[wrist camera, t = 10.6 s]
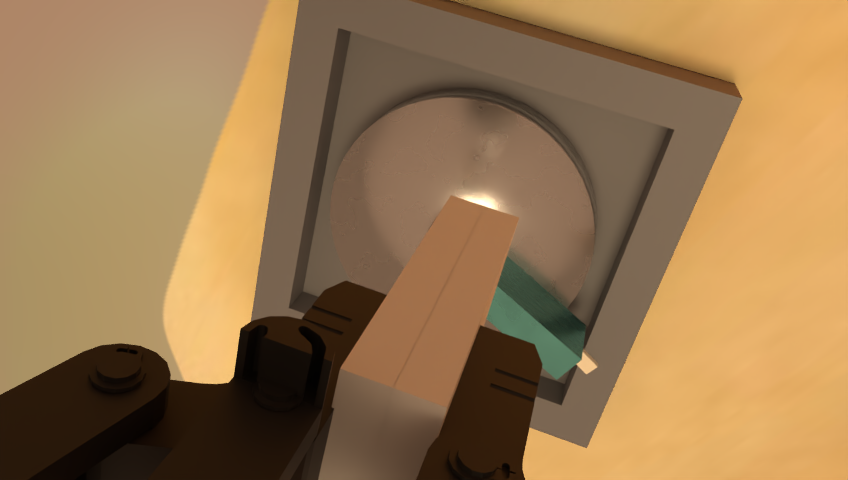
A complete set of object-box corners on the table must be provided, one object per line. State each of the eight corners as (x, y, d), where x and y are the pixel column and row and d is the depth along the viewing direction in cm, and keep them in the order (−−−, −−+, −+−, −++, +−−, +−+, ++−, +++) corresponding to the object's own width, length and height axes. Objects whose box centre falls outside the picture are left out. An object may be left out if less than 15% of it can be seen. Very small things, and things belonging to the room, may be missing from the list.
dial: (298, 215, 50) (255, 255, 44) (449, 29, 42) (420, 50, 37) (494, 384, 51) (477, 443, 46) (674, 233, 44) (678, 282, 38)
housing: (326, -36, 44) (300, -30, 40) (735, 84, 41) (743, 100, 37) (271, 302, 55) (247, 328, 51) (589, 416, 52) (586, 452, 48)
